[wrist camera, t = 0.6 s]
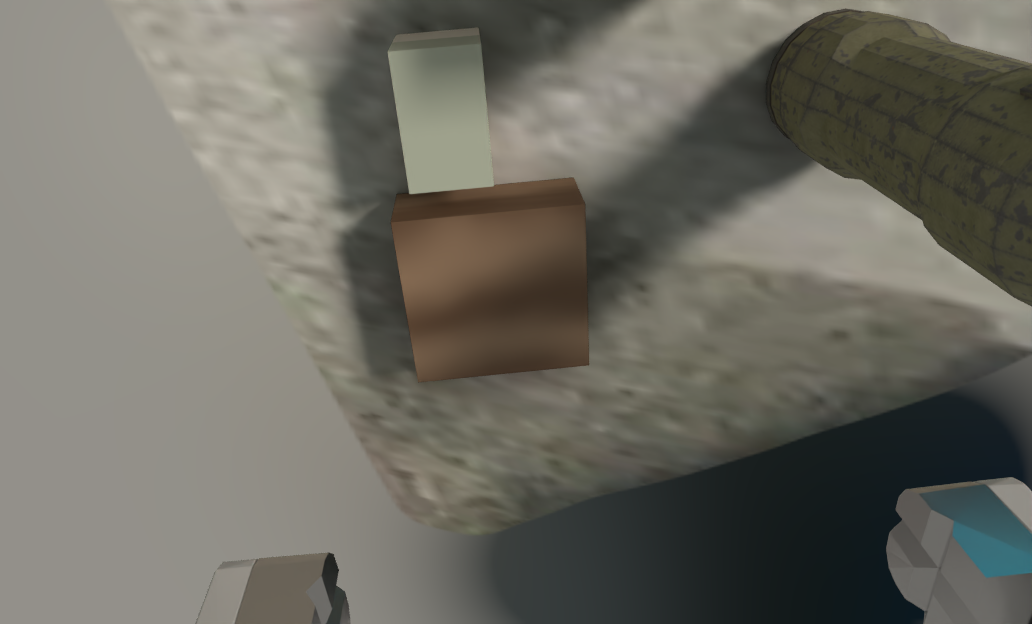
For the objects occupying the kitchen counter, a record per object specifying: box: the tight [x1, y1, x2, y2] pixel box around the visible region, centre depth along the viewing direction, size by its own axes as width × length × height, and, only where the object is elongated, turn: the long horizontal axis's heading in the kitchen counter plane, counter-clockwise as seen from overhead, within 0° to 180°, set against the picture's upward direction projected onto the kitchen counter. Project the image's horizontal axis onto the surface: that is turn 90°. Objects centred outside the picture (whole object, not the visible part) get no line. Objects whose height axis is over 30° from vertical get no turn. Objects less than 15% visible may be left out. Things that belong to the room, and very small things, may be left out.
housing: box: [388, 28, 494, 194], centre depth 42 cm, size 8×5×6 cm, turn 4°
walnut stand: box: [391, 178, 589, 382], centre depth 49 cm, size 12×12×5 cm
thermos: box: [766, 9, 1032, 306], centre depth 31 cm, size 9×12×35 cm
